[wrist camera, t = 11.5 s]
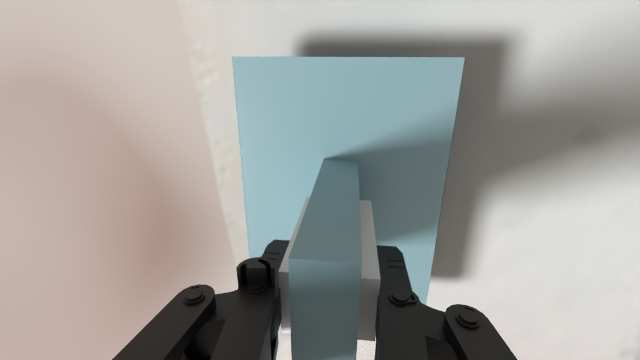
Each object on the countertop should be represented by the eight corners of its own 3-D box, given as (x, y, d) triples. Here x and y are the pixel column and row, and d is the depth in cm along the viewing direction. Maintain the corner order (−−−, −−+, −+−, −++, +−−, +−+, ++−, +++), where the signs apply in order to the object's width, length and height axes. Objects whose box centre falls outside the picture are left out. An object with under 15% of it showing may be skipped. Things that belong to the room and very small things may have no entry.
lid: (238, 57, 17) (65, 37, 7) (458, 58, 16) (645, 34, 6) (257, 298, 23) (179, 483, 13) (420, 312, 22) (478, 528, 11)
